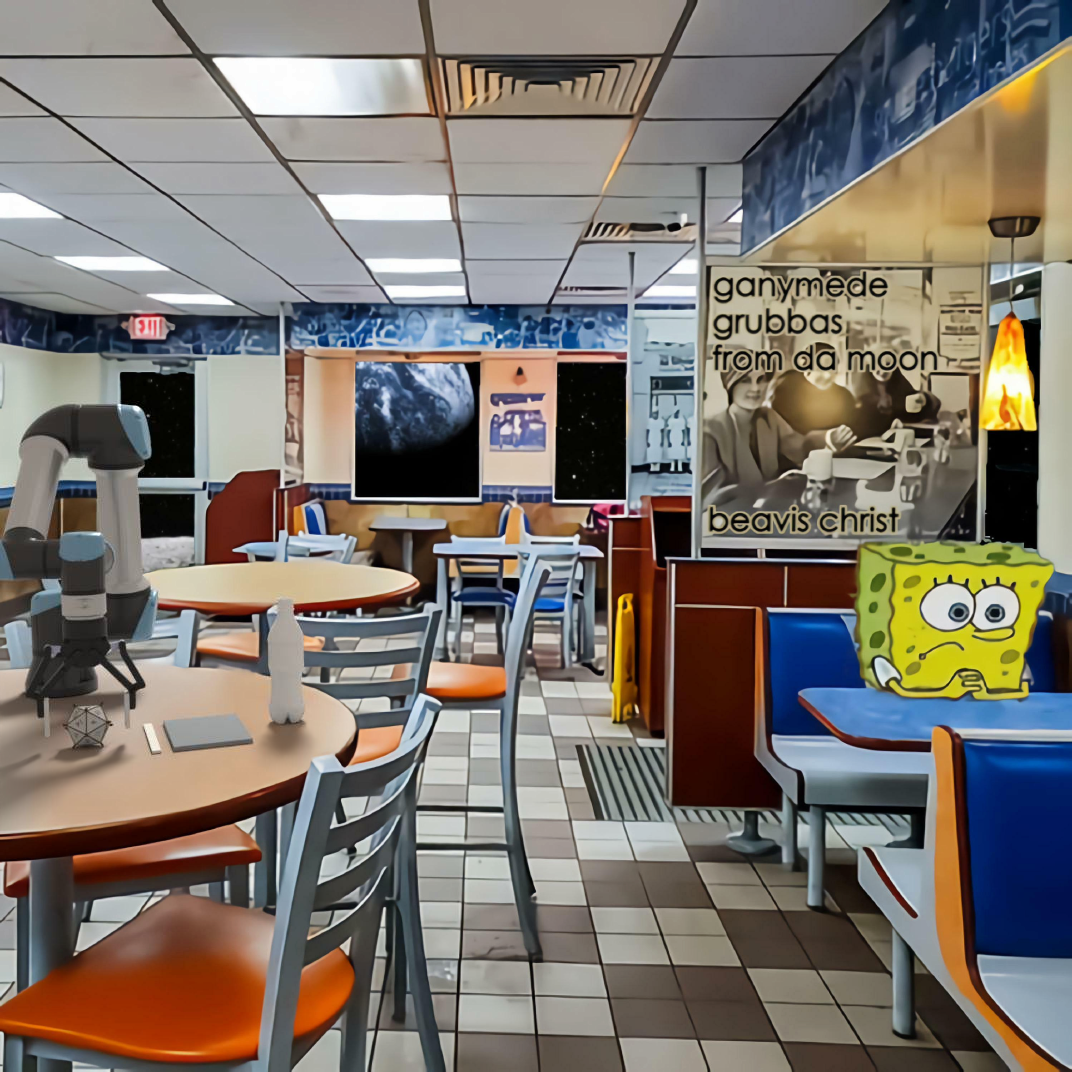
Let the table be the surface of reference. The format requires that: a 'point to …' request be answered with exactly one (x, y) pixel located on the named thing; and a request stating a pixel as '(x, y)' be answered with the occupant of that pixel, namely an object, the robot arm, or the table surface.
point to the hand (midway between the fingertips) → (88, 730)
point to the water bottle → (286, 665)
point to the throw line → (152, 738)
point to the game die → (87, 725)
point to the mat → (206, 732)
